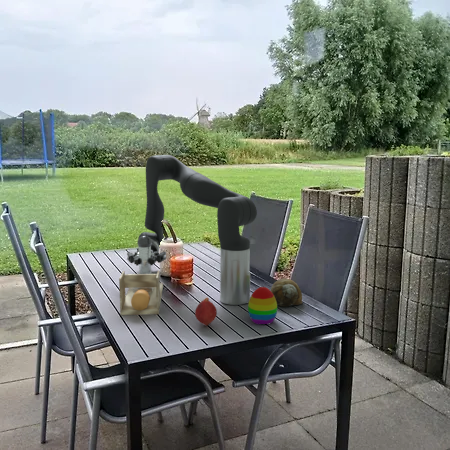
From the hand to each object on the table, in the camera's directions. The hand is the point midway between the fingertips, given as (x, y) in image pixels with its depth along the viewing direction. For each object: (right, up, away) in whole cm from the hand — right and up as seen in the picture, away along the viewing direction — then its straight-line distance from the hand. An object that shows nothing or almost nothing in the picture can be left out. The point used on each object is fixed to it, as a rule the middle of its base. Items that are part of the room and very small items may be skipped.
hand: (144, 262), depth 149 cm
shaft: (0, -8, 0) cm, 8 cm away
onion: (+21, -16, -24) cm, 35 cm away
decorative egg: (+37, -15, -20) cm, 45 cm away
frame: (0, -12, -3) cm, 12 cm away
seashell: (+46, -13, -6) cm, 48 cm away
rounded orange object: (+2, -9, -13) cm, 16 cm away
